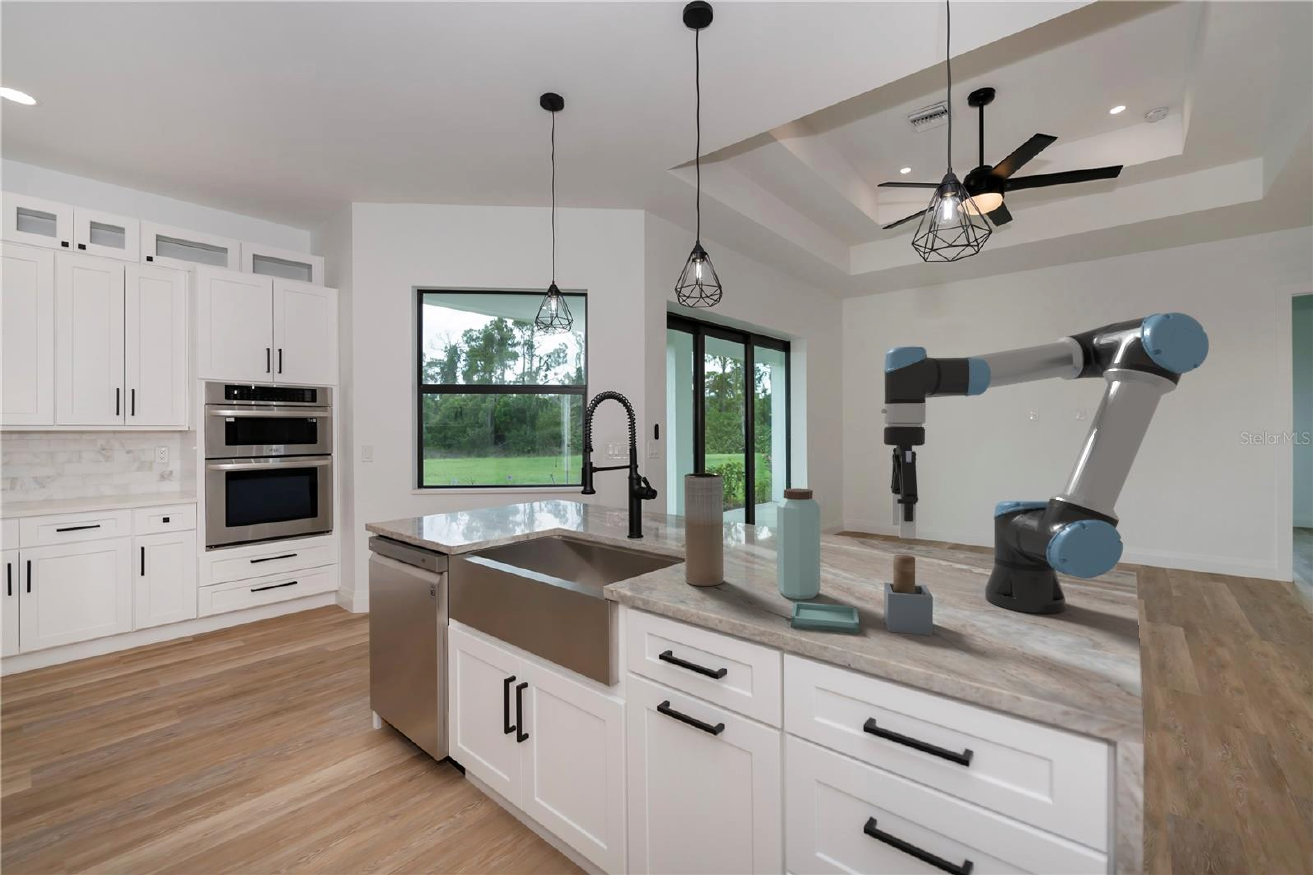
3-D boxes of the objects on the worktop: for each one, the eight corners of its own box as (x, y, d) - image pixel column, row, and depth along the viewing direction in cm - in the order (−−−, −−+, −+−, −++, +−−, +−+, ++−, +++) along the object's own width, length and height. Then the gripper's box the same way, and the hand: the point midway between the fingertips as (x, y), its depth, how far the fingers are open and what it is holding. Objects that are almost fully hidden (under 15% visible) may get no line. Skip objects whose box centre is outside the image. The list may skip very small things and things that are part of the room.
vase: (682, 576, 153) (681, 473, 152) (719, 575, 154) (718, 472, 153) (688, 587, 143) (687, 477, 142) (727, 586, 144) (726, 476, 143)
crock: (925, 621, 118) (925, 585, 117) (932, 635, 110) (932, 596, 110) (884, 617, 120) (884, 582, 120) (888, 631, 112) (888, 593, 112)
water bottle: (822, 601, 131) (821, 493, 130) (777, 599, 133) (776, 492, 132) (818, 589, 140) (818, 487, 140) (777, 587, 142) (776, 487, 142)
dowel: (913, 623, 116) (913, 555, 116) (916, 630, 113) (916, 560, 112) (892, 621, 118) (892, 554, 117) (894, 628, 114) (894, 558, 113)
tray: (856, 616, 121) (856, 606, 121) (859, 633, 111) (859, 623, 111) (793, 610, 125) (793, 601, 125) (790, 627, 115) (790, 617, 115)
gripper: (878, 424, 127) (877, 519, 128) (890, 426, 103) (889, 543, 104) (915, 424, 125) (913, 521, 125) (936, 426, 101) (934, 545, 101)
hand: (902, 531), depth 115 cm, fingers open, 13 cm apart
